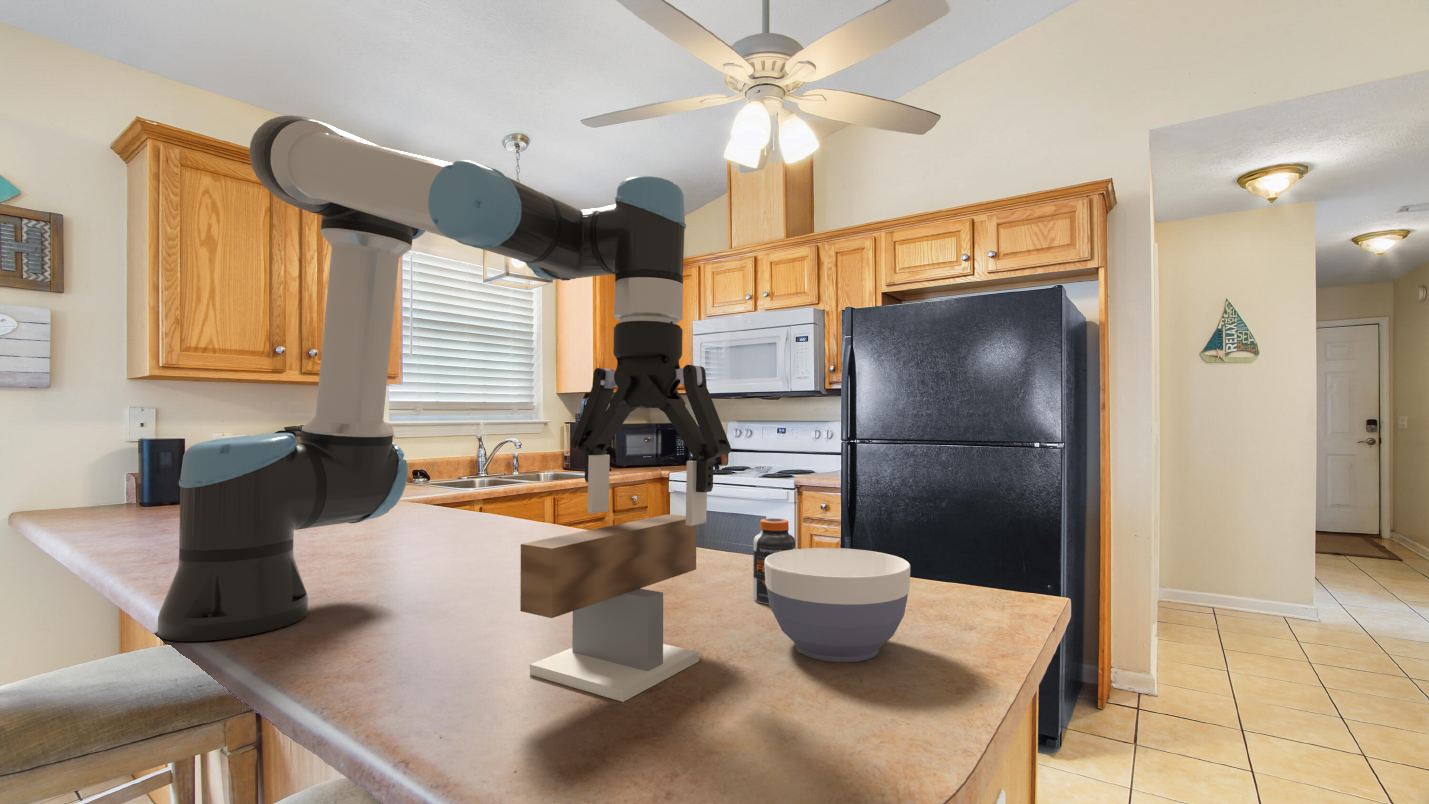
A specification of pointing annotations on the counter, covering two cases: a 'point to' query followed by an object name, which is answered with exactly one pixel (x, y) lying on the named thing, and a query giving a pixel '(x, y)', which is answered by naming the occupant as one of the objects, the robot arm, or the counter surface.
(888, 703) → the counter surface
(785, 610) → the bowl
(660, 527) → the beam
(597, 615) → the stand
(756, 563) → the pill bottle
